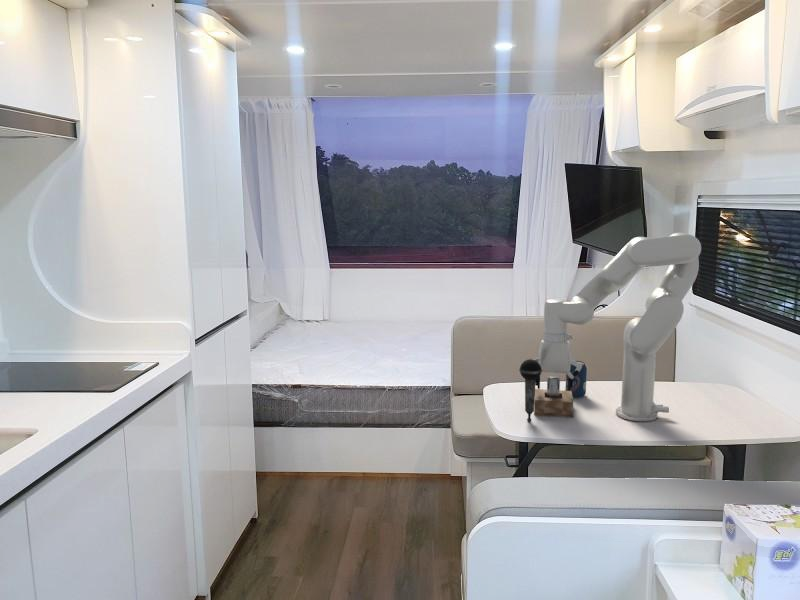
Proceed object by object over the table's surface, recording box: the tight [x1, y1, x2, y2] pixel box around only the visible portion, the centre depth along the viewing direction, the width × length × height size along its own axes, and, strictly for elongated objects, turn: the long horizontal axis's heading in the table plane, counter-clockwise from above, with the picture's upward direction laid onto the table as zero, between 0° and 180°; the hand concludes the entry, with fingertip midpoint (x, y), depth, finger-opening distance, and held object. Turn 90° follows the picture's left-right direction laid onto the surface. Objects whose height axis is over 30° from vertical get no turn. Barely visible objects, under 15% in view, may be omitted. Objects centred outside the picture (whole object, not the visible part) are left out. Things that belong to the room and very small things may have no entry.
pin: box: [546, 375, 561, 398], centre depth 208 cm, size 4×4×10 cm
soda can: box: [564, 360, 588, 399], centre depth 223 cm, size 7×7×12 cm
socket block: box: [533, 388, 574, 418], centre depth 209 cm, size 12×12×5 cm
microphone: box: [519, 358, 543, 423], centre depth 197 cm, size 7×7×20 cm
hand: (553, 388), depth 208 cm, fingers open, 9 cm apart
